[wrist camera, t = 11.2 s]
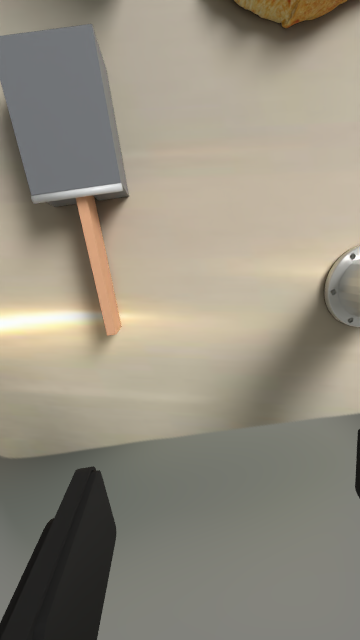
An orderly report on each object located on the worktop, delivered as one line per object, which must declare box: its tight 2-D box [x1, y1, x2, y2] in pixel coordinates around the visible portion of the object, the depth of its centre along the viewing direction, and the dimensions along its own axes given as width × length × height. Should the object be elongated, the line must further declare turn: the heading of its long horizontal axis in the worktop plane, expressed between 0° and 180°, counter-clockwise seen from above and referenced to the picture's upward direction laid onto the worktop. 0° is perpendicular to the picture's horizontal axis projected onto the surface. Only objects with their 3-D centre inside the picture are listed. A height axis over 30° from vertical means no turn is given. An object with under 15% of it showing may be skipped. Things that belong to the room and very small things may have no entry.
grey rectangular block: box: [0, 24, 129, 207], centre depth 27 cm, size 10×15×6 cm
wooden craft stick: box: [76, 195, 122, 336], centre depth 31 cm, size 1×19×4 cm, turn 8°
